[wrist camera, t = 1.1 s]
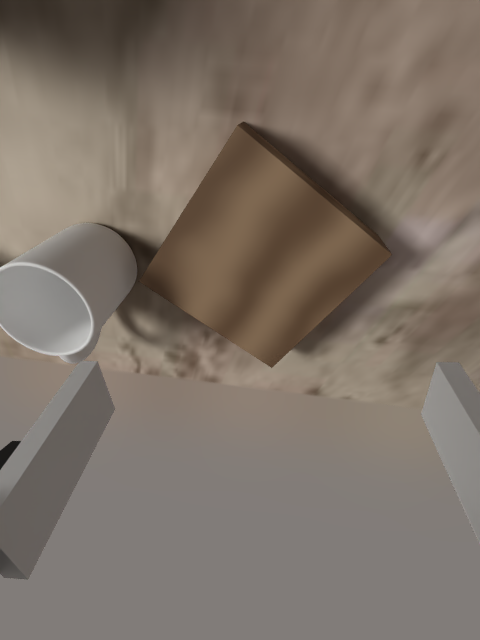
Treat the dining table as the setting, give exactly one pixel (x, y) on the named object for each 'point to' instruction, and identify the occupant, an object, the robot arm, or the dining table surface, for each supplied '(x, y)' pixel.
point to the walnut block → (262, 250)
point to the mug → (66, 290)
